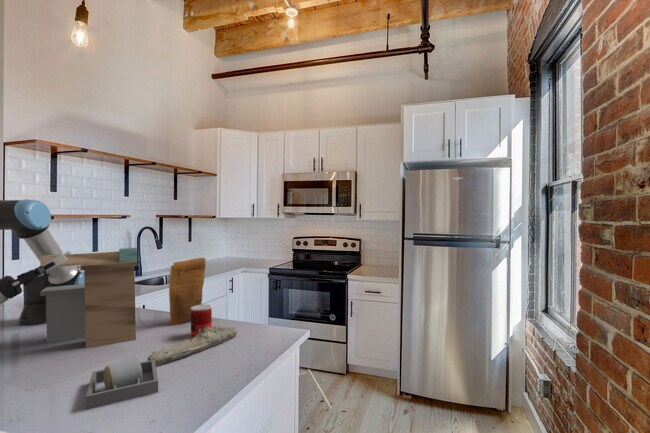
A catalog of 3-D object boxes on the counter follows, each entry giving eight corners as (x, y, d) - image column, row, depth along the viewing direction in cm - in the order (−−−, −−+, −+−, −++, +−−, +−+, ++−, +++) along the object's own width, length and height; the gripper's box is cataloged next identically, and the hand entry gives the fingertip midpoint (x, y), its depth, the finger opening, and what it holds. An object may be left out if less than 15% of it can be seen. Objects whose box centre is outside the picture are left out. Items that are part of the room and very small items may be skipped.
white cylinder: (102, 388, 95) (101, 360, 95) (135, 378, 101) (134, 352, 100) (112, 403, 87) (112, 373, 87) (147, 391, 93) (146, 363, 93)
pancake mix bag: (211, 317, 162) (209, 257, 162) (172, 328, 146) (171, 262, 146) (202, 314, 166) (201, 256, 166) (164, 325, 150) (162, 261, 150)
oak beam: (43, 266, 126) (43, 252, 126) (137, 259, 140) (136, 247, 140) (39, 268, 120) (39, 254, 120) (137, 261, 135) (137, 248, 135)
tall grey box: (47, 337, 138) (46, 287, 138) (106, 328, 147) (105, 281, 147) (41, 345, 129) (40, 291, 129) (104, 335, 139) (103, 285, 139)
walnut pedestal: (85, 340, 134) (84, 262, 134) (138, 331, 142) (137, 259, 142) (82, 349, 124) (80, 266, 124) (138, 339, 133) (137, 262, 133)
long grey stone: (140, 367, 112) (157, 376, 106) (139, 351, 111) (156, 359, 106) (226, 330, 141) (243, 336, 135) (225, 318, 140) (242, 323, 135)
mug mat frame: (92, 382, 99) (92, 371, 99) (155, 369, 106) (154, 359, 106) (86, 409, 85) (85, 396, 85) (158, 391, 92) (158, 380, 92)
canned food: (215, 331, 140) (215, 305, 140) (202, 338, 133) (202, 310, 133) (200, 330, 143) (199, 303, 143) (186, 336, 135) (186, 308, 135)
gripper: (20, 292, 130) (79, 260, 139) (-3, 307, 108) (69, 268, 117) (6, 276, 128) (67, 244, 137) (-20, 288, 106) (55, 249, 115)
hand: (68, 255), depth 127 cm, fingers open, 13 cm apart
